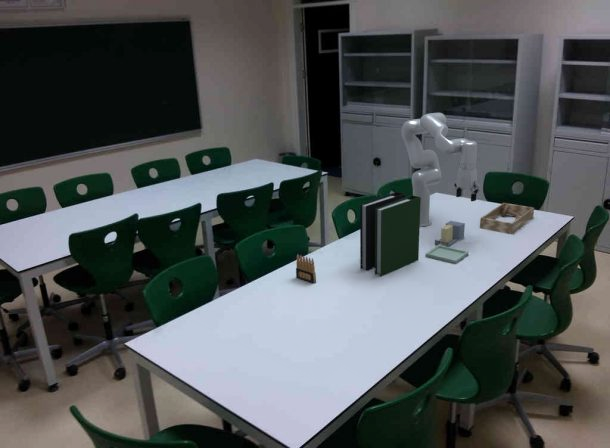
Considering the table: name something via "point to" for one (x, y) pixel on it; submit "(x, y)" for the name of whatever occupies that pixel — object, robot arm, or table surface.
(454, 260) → the tray
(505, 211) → the toilet paper hanger
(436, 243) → the dispenser
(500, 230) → the frame
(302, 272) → the ammunition clip
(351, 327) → the table surface
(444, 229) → the block
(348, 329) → the table surface
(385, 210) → the pair of upright books
